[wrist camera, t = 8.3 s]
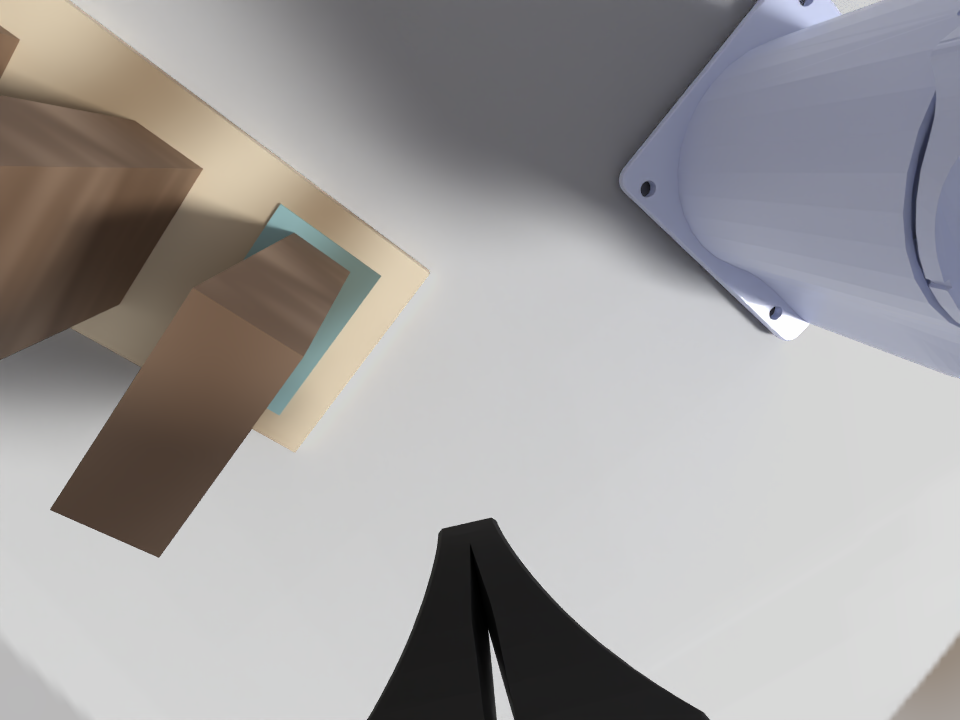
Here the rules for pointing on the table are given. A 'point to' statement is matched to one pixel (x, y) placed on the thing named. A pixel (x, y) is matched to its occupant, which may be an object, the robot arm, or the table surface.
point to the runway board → (212, 209)
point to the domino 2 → (201, 393)
